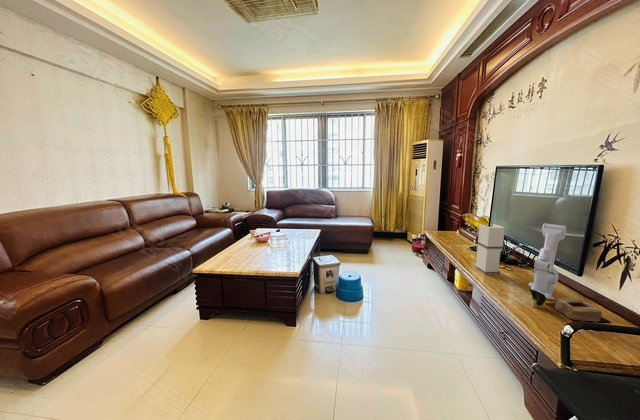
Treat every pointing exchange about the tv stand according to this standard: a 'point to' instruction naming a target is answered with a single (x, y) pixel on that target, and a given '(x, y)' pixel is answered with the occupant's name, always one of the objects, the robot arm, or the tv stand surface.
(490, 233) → the stacked grey cubes
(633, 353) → the tv stand surface
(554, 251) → the robot arm
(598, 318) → the box
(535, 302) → the block
